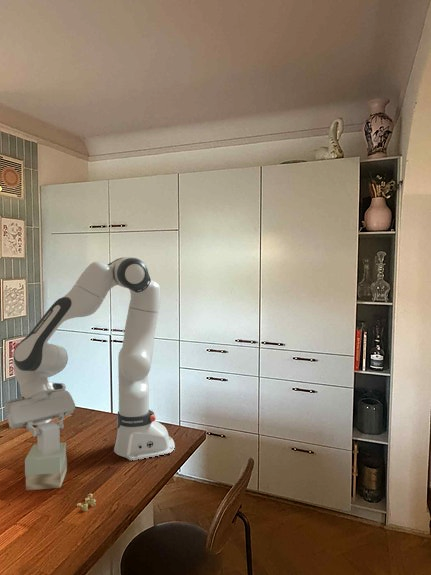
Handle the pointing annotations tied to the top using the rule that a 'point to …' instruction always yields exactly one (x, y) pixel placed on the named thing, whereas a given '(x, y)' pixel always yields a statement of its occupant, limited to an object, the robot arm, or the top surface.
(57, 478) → the birch block
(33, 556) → the top surface
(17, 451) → the top surface
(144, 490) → the top surface
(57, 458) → the sage block
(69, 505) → the top surface
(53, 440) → the grey block
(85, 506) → the beige lumpy cluster
